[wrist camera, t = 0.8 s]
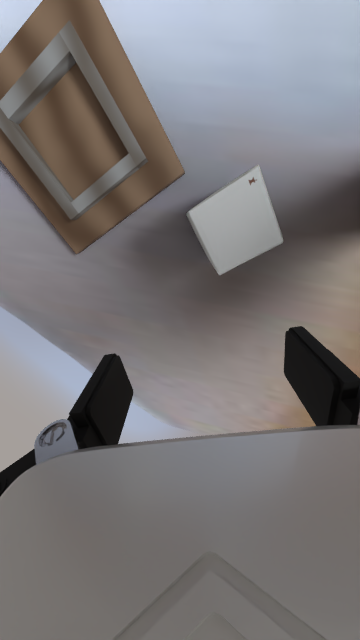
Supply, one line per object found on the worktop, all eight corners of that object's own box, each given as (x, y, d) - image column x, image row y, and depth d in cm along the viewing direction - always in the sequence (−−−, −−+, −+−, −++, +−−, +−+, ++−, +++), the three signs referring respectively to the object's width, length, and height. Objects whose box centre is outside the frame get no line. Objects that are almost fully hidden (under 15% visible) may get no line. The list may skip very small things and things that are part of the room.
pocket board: (82, -30, 20) (68, -65, 18) (184, 173, 28) (184, 169, 25) (-33, 112, 25) (-57, 100, 23) (79, 252, 33) (71, 255, 30)
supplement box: (184, 213, 30) (185, 209, 19) (230, 184, 28) (262, 160, 17) (206, 258, 33) (218, 277, 22) (249, 234, 31) (286, 241, 20)
